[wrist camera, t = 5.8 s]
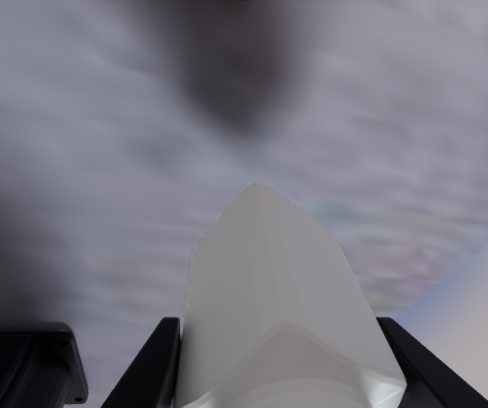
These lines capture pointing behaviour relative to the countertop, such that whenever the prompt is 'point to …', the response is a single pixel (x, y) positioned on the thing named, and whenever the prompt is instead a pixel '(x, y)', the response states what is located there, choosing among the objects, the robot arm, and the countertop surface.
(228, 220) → the pepper shaker
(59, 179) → the countertop surface
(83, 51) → the countertop surface
